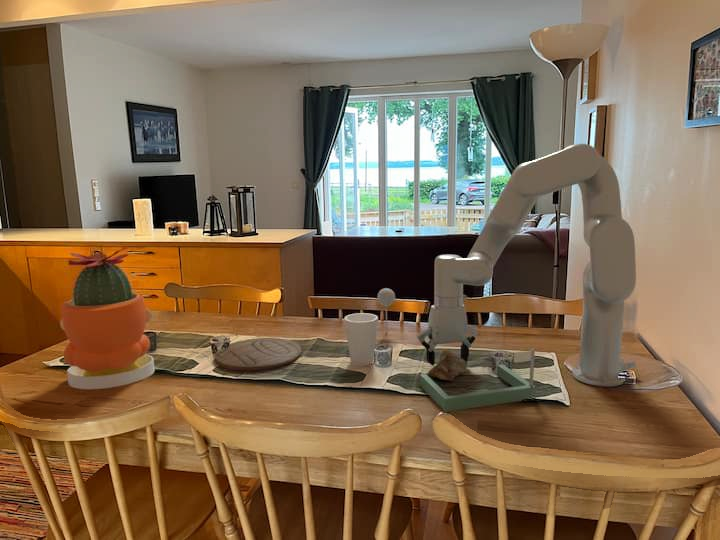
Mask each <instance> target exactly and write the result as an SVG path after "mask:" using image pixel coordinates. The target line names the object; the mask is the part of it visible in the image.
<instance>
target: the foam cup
mask: <svg viewBox="0 0 720 540" xmlns="http://www.w3.org/2000/svg"><path fill="white" fill-rule="evenodd" d="M343 320H344V321H343V322H344V328H345V333H346V340H347V346H348V353H349V359H350V360H349V361H350V363H351V364H352V365H354V366H359V367H360V366H361V367H363V366H369V364H370V365H371V363H372V362H373V363H374V358H375V351H374V349H375V350H376V342H377V333H378V326H379V316H378V315H376V314H373V313H365V312H362V313H361V312H360V313H359V312H356V313H352V314H348V315H345V316H344V318H343ZM373 363H372V364H373Z"/></svg>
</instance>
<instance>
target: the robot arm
mask: <svg viewBox="0 0 720 540" xmlns="http://www.w3.org/2000/svg"><path fill="white" fill-rule="evenodd" d="M574 185H577V186H578V187H579V189H580V194H581V202H582V210H583V211H582V215H583V216H582V217H583V219H582V220H583V240H584V241H585V243H586V245H587V246H588V247H589V256H590V257H589V258H590V260H589V261H588V262H587V263H586V265H585V267H584V270H583V273H582V274H583V275H582V313H581V314H582V316H581V328H580V329H581V330H580V347H579V362H578V365H577V366H576V367H573V369H572V373H571V374H572V376H573V378H575V379H576V380H577V381H579V382H582V383H584V384H587V385H591V386H597V387H606V388H607V387H610V388H611V387H618V386H620V385H621V386H622V385H623V384H624V383H623V382H624V379H622V380H621V379H619V378H618V376H619V373H624V372H625V370H631V369H633V370H634V369H635V368H636V362H635V361H633V360H631V361H624V360H623V359H621V356H622V354H621V353H622V340H623V327H624V315H625V301H626V300H627V299H629V298H630V297H631V296H632V294H633V293H634V291H635V288H636V284H637V283H636V281H637V268H636V266H637V265H636V247H635V245H636V244H635V236H634V232H633V228H632V227H631V225H630V224H629V223H628V222H627V221H626V220H625V219H623V214H622V200H621V191H620V189H621V188H620V185H619V179H618V176H617V174H616V171H615V169H614V168H613V166H612V165H611V164H610V163H609V162H608V161H607V159H605V158H604V157H603V155H601V154H600V153H599V151H598V150H597V149H596V148H595V147H594V146H592V145H590V144H587V143H575V144H571V145H568V146H566V147H565V148H564V149H562V150H560V151H559V150H558V151H557V152H554V153H552V154H549V155H546V156H543V157H541V158H538V159H534V160H532V161H526V162H522V163H520V164H519V165H517V166H516V167H515V168H514V170H513V172H512V173H511V175H510V177H509V178H508V180H507V182H506V185H505V186H504V188H503V189H502V191H501V193H500V195H499V197H498V199H497V201H496V202H495V205H494V206H493V208H492V209H491V212H490V213H489V215H488V217H487V219H486V222H485V224H484V226H483V228H482V230H481V231H480V233H479V235H478V237H477V239H476V240H475V242H474V244H473V246H472V248H471V249H470V251H469V253H468V255H467V257H466V258H463V257H462V256H460V255H458V254H450V253H449V254H448V253H447V254H440V255H437V256H436V257H435V259H434V276H433V277H434V286H433V287H434V293H433V294H434V295H433V298H434V302H433V303H434V304H432V305H431V306H430V310H429V316H428V324H427V328H426V329H425V330H423V331H421V332H420V333H418V334H417V335H416V337H417V339H418V341H419V342H420V343H419V344H421V345H422V346H423V347H424V348H425V350H426V361H427V362H428V364H430V365H431V366H433V367H434V366H436V365H435V364H436V362H435V359H436V358H435V357H436V355H435V354H436V353H435V350H434V349H435V348H436V346H437V345H443V344H454V343H455V344H456V343H461V345H460V357H461V358H462V359H464V360H465V361H466V362H467V363H468V362H469V357H470V348H471V347H472V345H473V343H474V341H475V340H476V338H477V336H478V334H479V330H478V329H477V328H474V327H473V326H472V325H471V326H470V325H468V316H467V311H466V306H465V305H464V301H467V300H468V296H467V295H465V294H464V285H469V286H475V287H480V286H481V287H482V286H485V285H487V284H488V283H489V282H490V281H491V280H492V279H493V276H494V266H495V265H496V264H497V261H498V259H499V258H500V256H501V254H502V252H503V251H504V249H505V247H506V246H507V245H508V243H509V242H510V241H511V240H512V238H514V237H515V236H516V235H517V234H518V233H519V231H521V229H522V227H523V225H524V223H526V220H527V218H528V216H529V215H530V213H531V211H532V209H533V208H534V207H535V204H536V202H537V201H538V199H539V198H540V197H541V196H545V195H549V194H553V193H555V192H558V191H561V190H563V189H566V188H568V187H573V186H574ZM468 332H470V334H469V336H468ZM426 337H427V338H428V341H426V339H425V338H426Z"/></svg>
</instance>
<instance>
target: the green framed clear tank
mask: <svg viewBox="0 0 720 540" xmlns="http://www.w3.org/2000/svg"><path fill="white" fill-rule="evenodd" d="M535 351H536V349H533V348H531V349H530V350H526V351H525V350H524V351H517V352H513V363H514V364H515V363H516V364H517V363H523V362H530V364H529V365H530V366H529V368H530V369H529V381H528V380H526V379H525V378H523V377H522V376H520V375H519V374H518V373H516V372H515V371H513V370H512V369H510V368H509V367H508V366H506V365H504V364H497V365H496V366H497V367H496V376H497V377H498V376H499V377H500V380H502V379H503V380H504V381H503V380H502V381H503V382H505V381H506V382H507V383H506V382H505V383H506V384H508V383H509V384H510V385H512V386H513V387H512V386H510V385H509V384H508V385H509V386H510V387H504V388H496V389H490V390H482V391H473V392H467V393H460V394H459V393H458V394H453V395H448V394H447V393H446V391H444V390H443V389H442V388H441V387H440V386H439V385H438V384H437V383H436V382H435V381H434V380H433V379H432V378H431V377H429V376H430V375H429V374H426V373H422V374H419V386H420V387H421V388H422V390H424V391H425V393H426V394H428V396H429V397H430V398H431V400H433V401H434V402H435V403H436V404H437V405H438V406H439V407H440V408H441V409H442V411H444V412H455V411H460V410H467V409H468V410H469V409H475V408H481V407H488V406H489V407H490V406H495V405H496V406H497V405H502V404H509V403H510V404H511V403H516V402H517V403H518V402H523V401H522V400H523V399H527V398H532V397H535V398H536V392H537V391H536V390H537V386H535V385H534V376H535V375H534V371H535V370H534V368H535ZM499 377H498V378H499Z"/></svg>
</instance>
